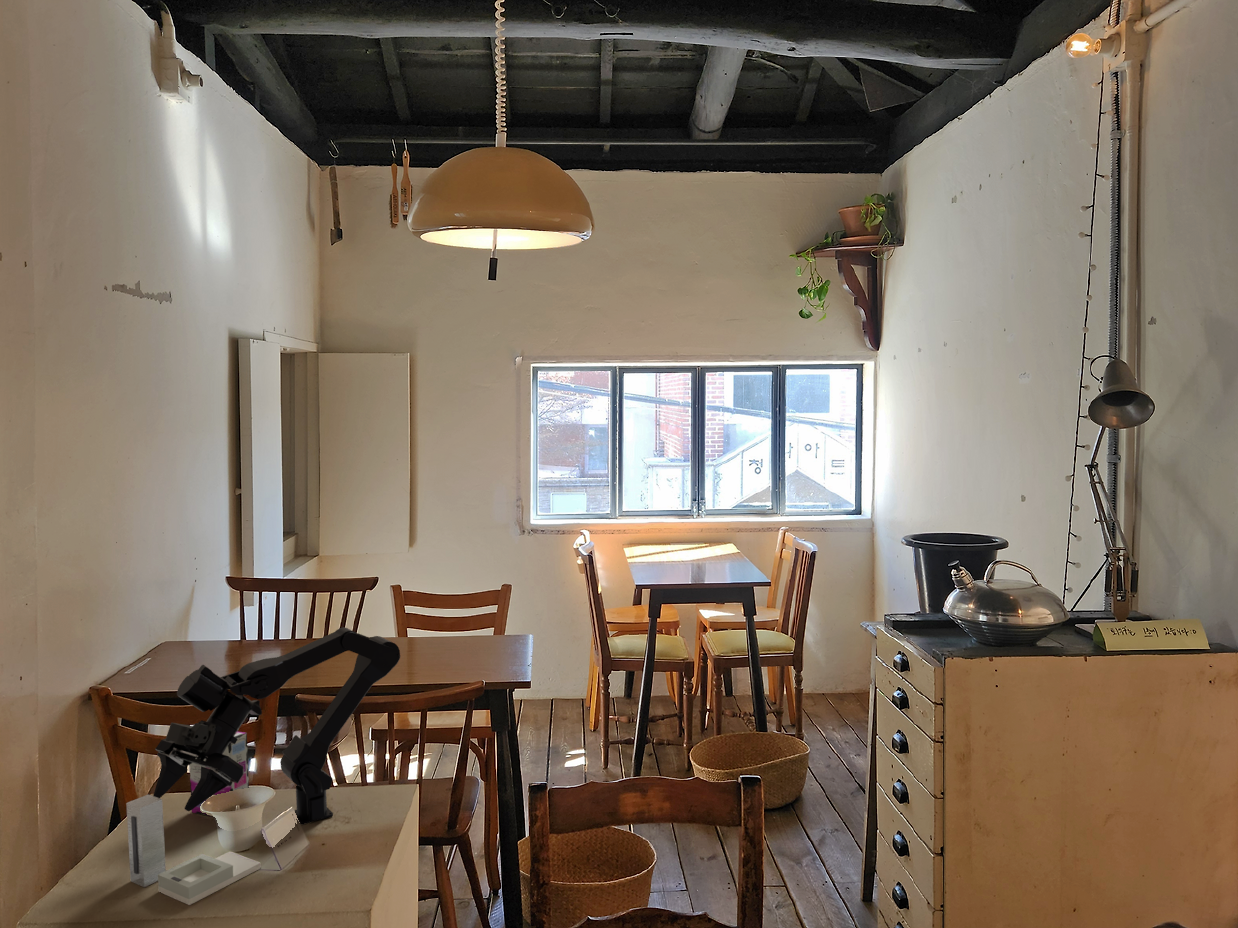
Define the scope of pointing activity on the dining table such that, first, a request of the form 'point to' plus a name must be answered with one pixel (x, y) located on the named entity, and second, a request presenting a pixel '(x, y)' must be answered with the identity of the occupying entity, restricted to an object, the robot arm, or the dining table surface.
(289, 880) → the dining table surface
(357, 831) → the dining table surface
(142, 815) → the block
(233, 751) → the candy bar box
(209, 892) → the white tray
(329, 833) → the dining table surface
